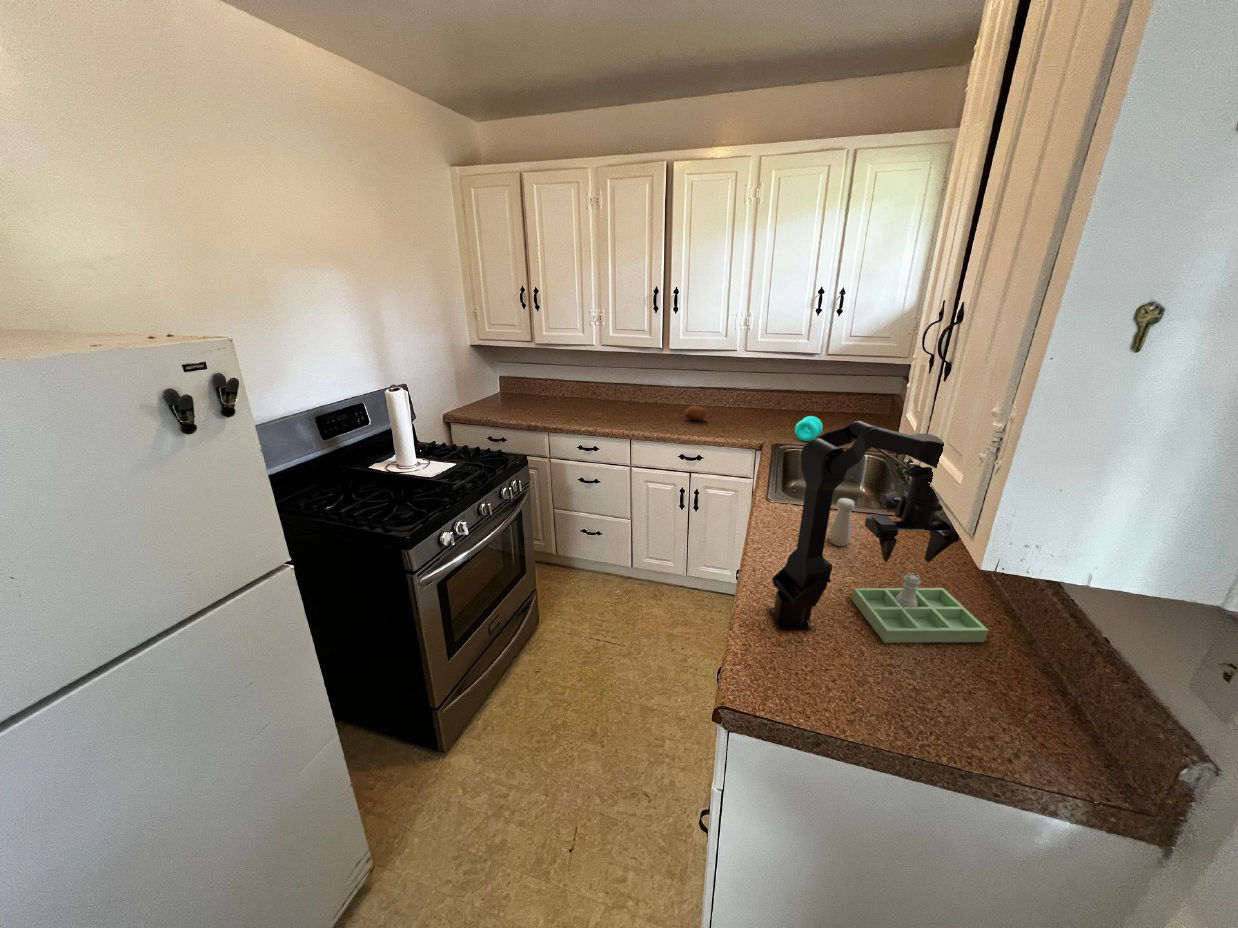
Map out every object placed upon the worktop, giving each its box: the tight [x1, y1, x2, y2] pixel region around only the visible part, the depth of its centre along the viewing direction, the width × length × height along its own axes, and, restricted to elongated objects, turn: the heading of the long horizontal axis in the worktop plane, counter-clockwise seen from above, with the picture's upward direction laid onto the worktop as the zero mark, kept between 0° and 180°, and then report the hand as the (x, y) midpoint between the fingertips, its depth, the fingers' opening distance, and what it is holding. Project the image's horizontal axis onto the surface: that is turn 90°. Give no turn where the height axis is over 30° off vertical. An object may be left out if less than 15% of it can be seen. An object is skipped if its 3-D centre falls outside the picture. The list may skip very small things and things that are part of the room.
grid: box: [850, 587, 989, 644], centre depth 102 cm, size 21×14×3 cm
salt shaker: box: [827, 497, 856, 547], centre depth 130 cm, size 6×6×13 cm
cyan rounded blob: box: [794, 415, 824, 442], centre depth 216 cm, size 10×10×10 cm
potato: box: [684, 405, 707, 422], centre depth 243 cm, size 8×11×8 cm
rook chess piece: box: [895, 572, 922, 607], centre depth 104 cm, size 4×4×8 cm
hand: (905, 560), depth 104 cm, fingers open, 9 cm apart
